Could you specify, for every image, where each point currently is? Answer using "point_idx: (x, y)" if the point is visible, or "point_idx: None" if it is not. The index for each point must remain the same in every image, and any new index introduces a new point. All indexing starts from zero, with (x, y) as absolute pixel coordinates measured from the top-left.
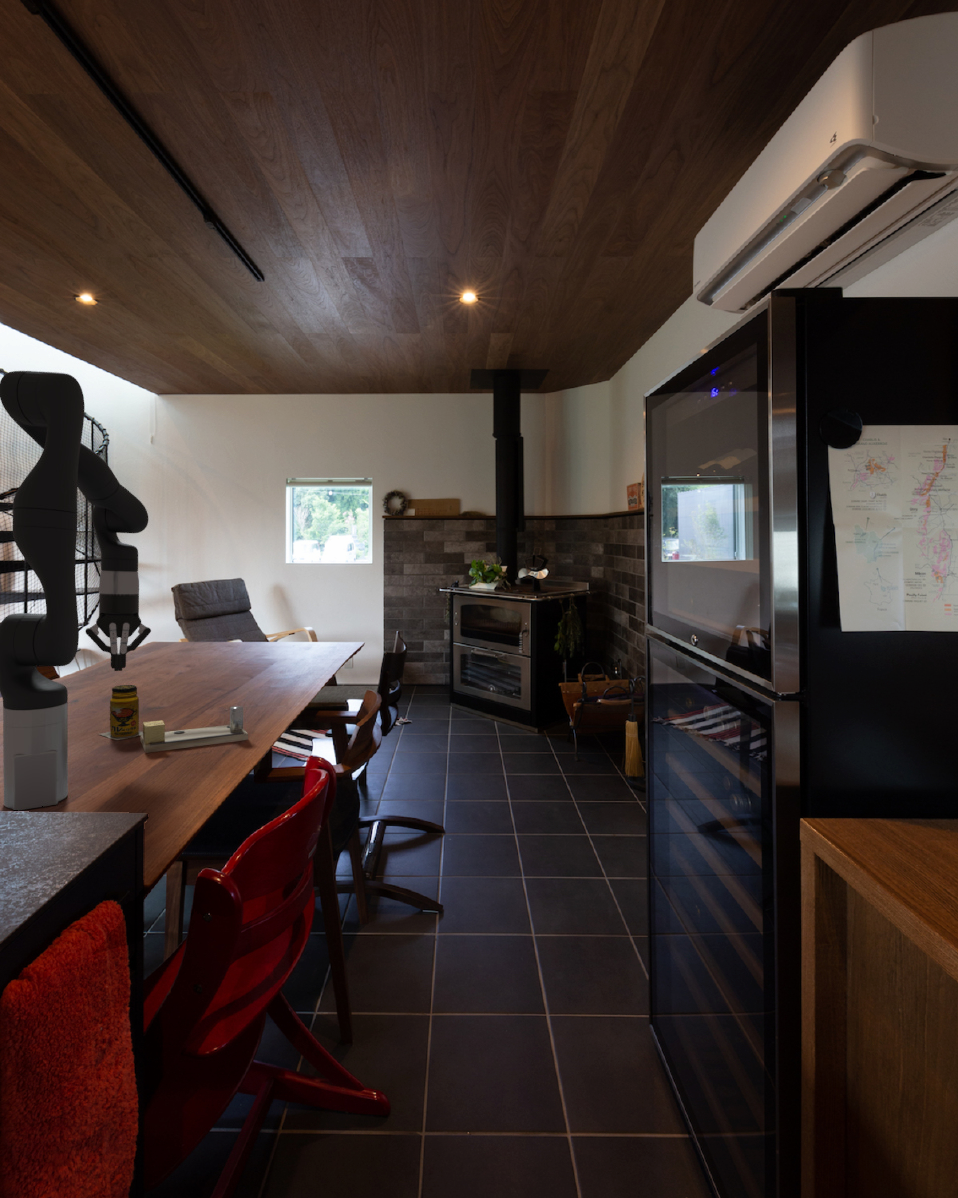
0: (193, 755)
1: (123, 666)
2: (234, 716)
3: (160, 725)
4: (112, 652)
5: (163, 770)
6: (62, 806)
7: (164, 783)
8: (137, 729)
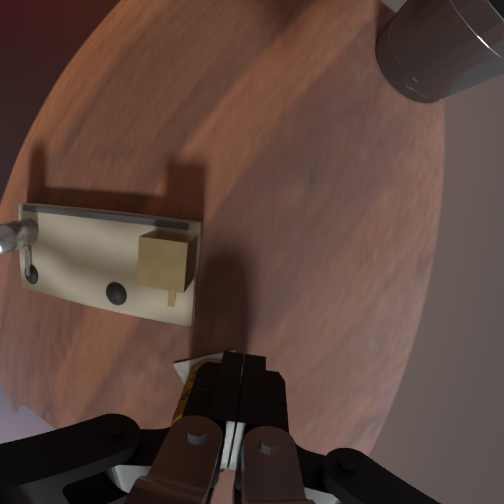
0: (124, 146)
1: (213, 368)
2: (10, 226)
3: (149, 237)
4: (284, 439)
5: (203, 77)
6: (381, 15)
7: (224, 13)
8: (190, 372)
